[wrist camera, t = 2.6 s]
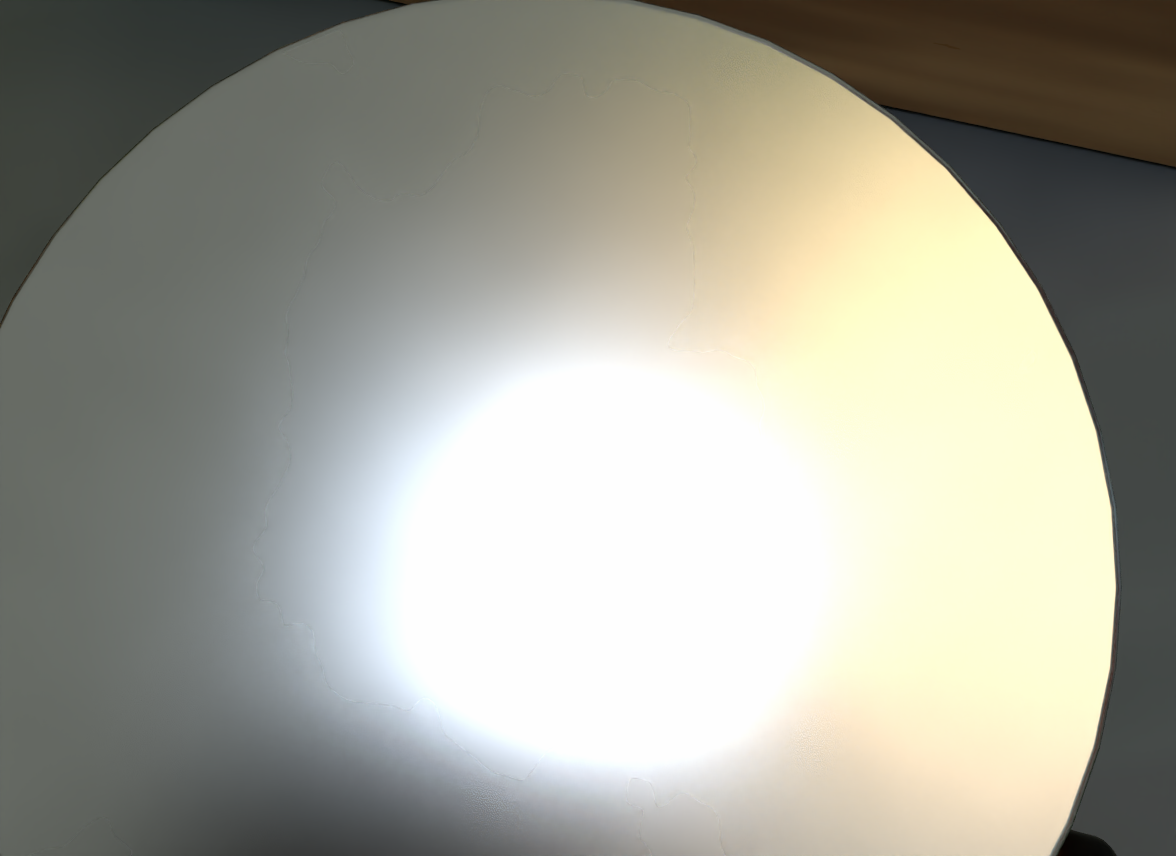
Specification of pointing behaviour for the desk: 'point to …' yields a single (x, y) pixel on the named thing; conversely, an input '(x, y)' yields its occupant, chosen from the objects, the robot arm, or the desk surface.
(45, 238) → the desk surface
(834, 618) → the tin can
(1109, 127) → the wooden bookend
